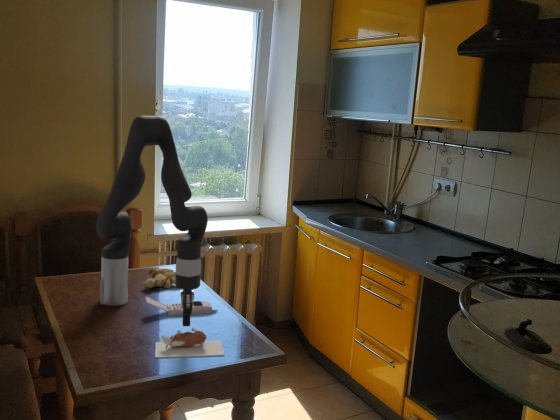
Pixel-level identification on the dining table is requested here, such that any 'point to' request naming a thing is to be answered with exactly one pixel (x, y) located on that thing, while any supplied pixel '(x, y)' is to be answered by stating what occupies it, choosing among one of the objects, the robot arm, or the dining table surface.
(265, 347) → the dining table surface
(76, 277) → the dining table surface
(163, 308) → the mobile phone
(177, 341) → the bull figurine
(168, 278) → the ginger root
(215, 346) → the mat
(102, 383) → the dining table surface
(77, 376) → the dining table surface
